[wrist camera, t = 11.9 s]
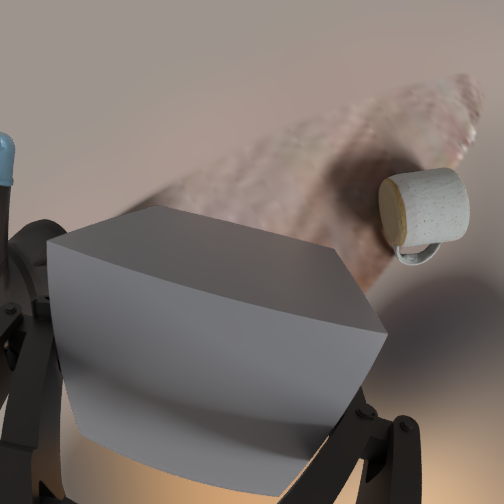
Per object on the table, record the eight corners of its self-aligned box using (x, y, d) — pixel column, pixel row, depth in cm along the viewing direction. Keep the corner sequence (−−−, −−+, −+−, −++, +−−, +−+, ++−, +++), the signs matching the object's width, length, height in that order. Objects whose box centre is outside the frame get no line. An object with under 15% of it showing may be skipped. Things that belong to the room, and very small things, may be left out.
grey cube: (143, 348, 18) (80, 434, 10) (156, 205, 15) (46, 240, 7) (283, 387, 18) (278, 496, 9) (334, 249, 15) (388, 334, 7)
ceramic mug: (369, 175, 28) (397, 178, 20) (431, 166, 26) (468, 168, 19) (382, 267, 30) (407, 295, 23) (439, 253, 29) (472, 275, 22)
